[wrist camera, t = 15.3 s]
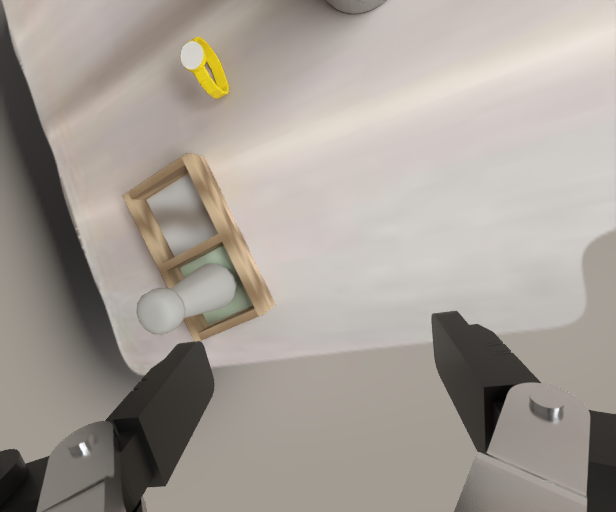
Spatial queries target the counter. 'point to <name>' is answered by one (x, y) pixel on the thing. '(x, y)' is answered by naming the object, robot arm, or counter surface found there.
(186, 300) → the salt shaker
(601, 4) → the counter surface
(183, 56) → the watch
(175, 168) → the tray
